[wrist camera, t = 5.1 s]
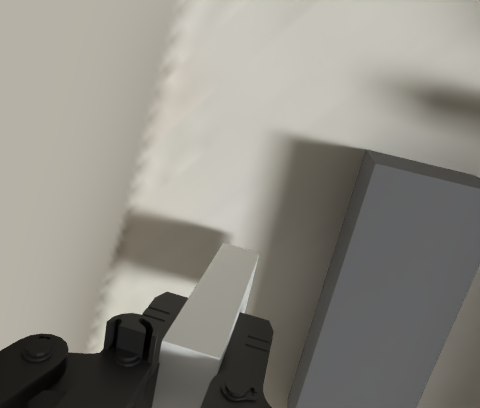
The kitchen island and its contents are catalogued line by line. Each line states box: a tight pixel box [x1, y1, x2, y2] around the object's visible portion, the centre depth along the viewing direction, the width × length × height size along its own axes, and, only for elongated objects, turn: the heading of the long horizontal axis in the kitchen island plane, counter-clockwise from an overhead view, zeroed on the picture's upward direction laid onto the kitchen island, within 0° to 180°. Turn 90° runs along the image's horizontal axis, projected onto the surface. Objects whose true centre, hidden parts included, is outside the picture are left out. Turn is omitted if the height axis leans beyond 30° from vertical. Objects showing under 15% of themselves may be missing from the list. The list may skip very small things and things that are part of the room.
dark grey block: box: [287, 150, 480, 408], centre depth 16 cm, size 13×4×3 cm, turn 168°
